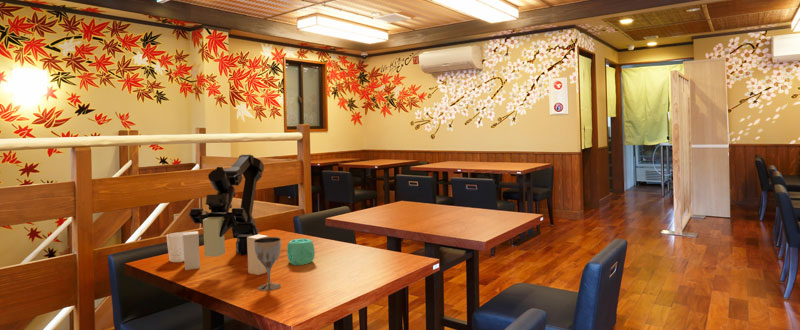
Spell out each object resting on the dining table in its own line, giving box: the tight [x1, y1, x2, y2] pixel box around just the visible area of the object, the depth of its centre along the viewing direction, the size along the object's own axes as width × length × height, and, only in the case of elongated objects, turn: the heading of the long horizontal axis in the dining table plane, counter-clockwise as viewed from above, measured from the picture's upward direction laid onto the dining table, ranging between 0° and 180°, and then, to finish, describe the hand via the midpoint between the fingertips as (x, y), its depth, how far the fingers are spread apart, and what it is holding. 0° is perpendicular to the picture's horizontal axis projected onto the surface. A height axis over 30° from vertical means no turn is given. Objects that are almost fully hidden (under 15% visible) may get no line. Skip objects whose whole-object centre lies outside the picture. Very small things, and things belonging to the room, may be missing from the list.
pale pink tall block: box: [182, 230, 201, 271], centre depth 180 cm, size 5×5×12 cm
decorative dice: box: [286, 238, 315, 266], centre depth 184 cm, size 8×8×8 cm
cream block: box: [247, 233, 269, 276], centre depth 172 cm, size 5×5×12 cm
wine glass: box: [254, 236, 282, 292], centre depth 155 cm, size 8×8×15 cm
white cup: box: [166, 231, 184, 263], centre depth 190 cm, size 8×8×10 cm
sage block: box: [202, 217, 226, 258], centre depth 170 cm, size 5×5×12 cm
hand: (212, 236), depth 168 cm, fingers closed on sage block, 5 cm apart
